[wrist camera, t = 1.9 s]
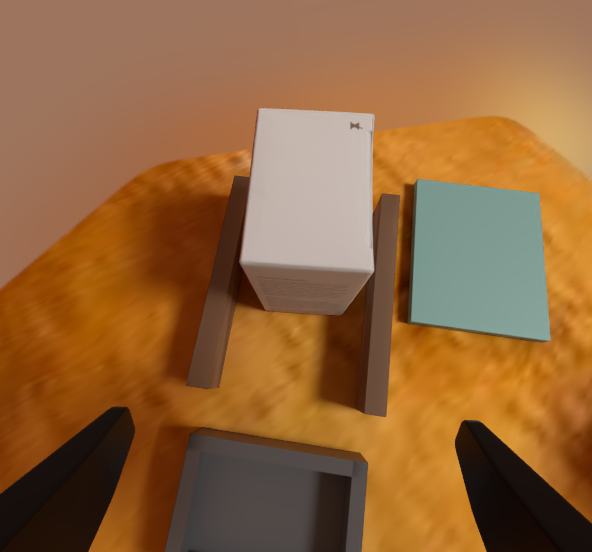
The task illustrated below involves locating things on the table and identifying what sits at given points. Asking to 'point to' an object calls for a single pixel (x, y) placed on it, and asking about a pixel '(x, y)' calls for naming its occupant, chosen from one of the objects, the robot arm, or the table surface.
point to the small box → (309, 210)
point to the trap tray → (267, 496)
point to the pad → (478, 261)
